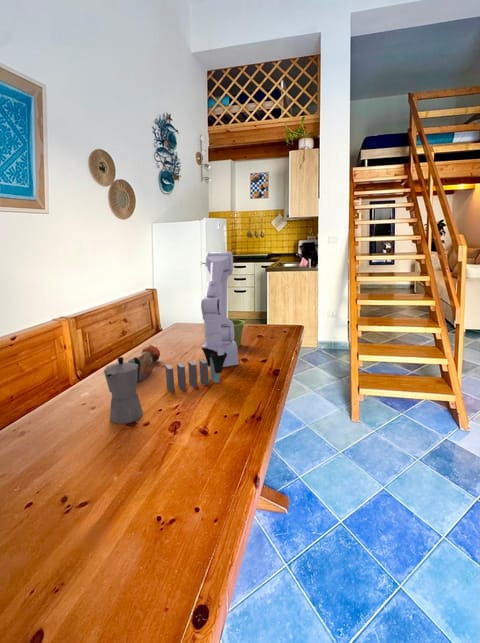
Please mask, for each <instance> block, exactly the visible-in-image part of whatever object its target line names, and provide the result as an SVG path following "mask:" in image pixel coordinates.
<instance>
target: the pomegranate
mask: <svg viewBox="0 0 480 643" xmlns="http://www.w3.org/2000/svg"><path fill="white" fill-rule="evenodd" d="M147 351H149V352H151V354H152V356H153V363H155V362H157V361H159V359H160V356H161V351H160V349H159V348H158V347H157V346H154V345H151V344H150V345H148V346H145V347H144V348H143V349H142V350H141V352H147Z"/></svg>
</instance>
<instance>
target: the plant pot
mask: <svg viewBox="0 0 480 643" xmlns="http://www.w3.org/2000/svg"><path fill="white" fill-rule="evenodd" d="M230 320H231V321H232V322H233V324H234V340H233V341H235V342H236V344H237V348H238V347H240V346H241V345H242V336H243V328H244V324H245V323H246V322H245V321H244V320H242V319H230ZM221 326H229V325H221Z"/></svg>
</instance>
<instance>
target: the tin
mask: <svg viewBox="0 0 480 643" xmlns="http://www.w3.org/2000/svg"><path fill="white" fill-rule="evenodd" d="M133 358H138V360H139V361H140V370H139V380H138V382H139V381H143V380H144V379H145V378H146V377H147V376H148V375H150V373H152V371H153V369H154V362H153V356H152V354H151V352H149V351H147V352H142V351H141V352H140V353H138V354H137V355H135V357H133Z"/></svg>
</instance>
